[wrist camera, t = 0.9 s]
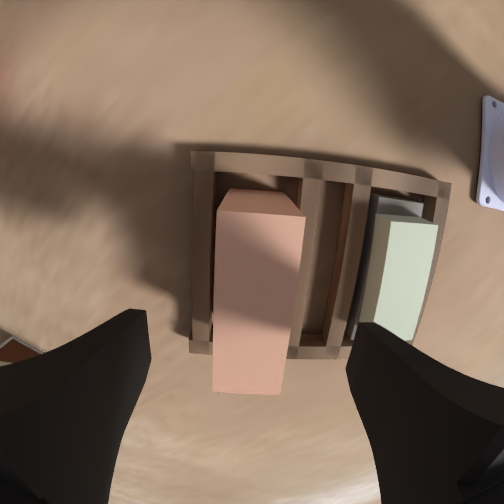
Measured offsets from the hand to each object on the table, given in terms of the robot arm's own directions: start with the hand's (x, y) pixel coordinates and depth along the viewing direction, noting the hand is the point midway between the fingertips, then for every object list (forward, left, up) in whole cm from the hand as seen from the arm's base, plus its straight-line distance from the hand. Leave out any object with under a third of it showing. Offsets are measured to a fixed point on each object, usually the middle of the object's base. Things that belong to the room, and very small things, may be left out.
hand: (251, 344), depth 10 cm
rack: (-4, 0, -9) cm, 10 cm away
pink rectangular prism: (0, 0, -9) cm, 9 cm away
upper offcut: (-8, 0, -7) cm, 11 cm away
